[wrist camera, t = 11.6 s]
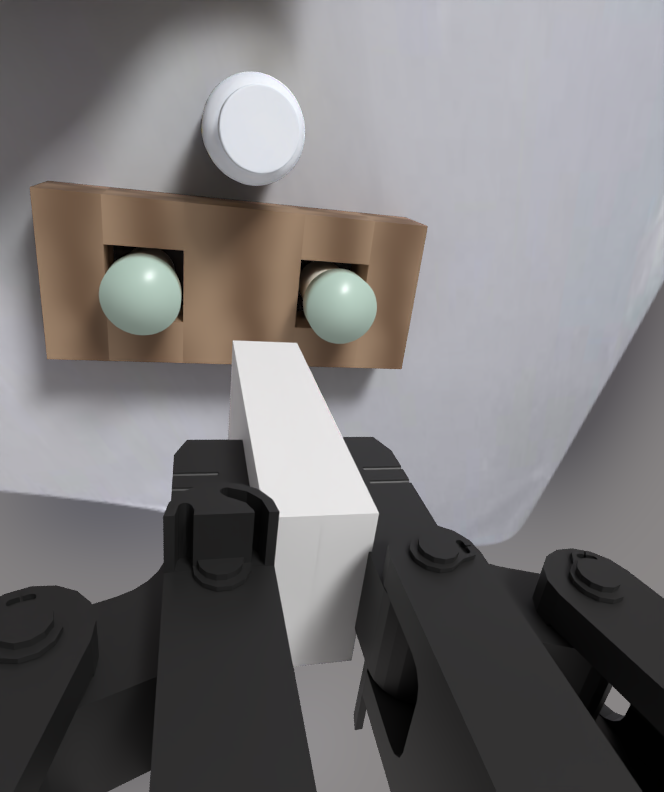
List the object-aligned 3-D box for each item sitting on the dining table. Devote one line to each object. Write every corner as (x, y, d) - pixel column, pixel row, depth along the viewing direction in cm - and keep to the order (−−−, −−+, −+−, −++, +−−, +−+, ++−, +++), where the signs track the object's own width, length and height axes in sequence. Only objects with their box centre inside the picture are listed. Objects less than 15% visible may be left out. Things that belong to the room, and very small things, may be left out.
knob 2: (288, 311, 47) (304, 342, 40) (293, 250, 45) (311, 272, 38) (345, 314, 49) (371, 345, 42) (353, 255, 47) (381, 277, 40)
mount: (61, 336, 45) (47, 358, 40) (47, 180, 40) (29, 187, 36) (383, 348, 52) (401, 369, 47) (405, 217, 47) (427, 226, 43)
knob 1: (116, 301, 44) (101, 333, 37) (113, 235, 42) (96, 256, 35) (183, 305, 45) (180, 336, 38) (183, 241, 43) (181, 262, 36)
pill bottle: (281, 182, 44) (308, 198, 33) (198, 170, 42) (199, 183, 32) (291, 90, 41) (323, 77, 31) (202, 74, 39) (205, 53, 29)
